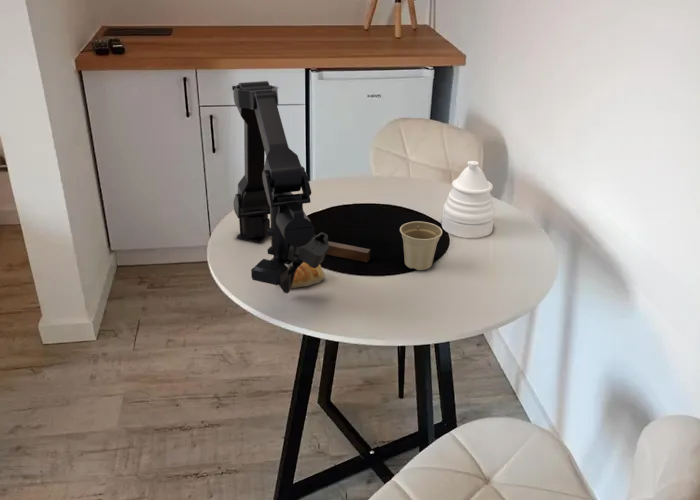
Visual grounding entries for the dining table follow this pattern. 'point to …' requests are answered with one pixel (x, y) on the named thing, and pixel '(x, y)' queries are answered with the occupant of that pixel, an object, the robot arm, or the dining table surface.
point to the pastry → (307, 275)
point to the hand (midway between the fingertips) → (286, 292)
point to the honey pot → (469, 205)
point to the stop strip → (348, 252)
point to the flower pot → (420, 243)
